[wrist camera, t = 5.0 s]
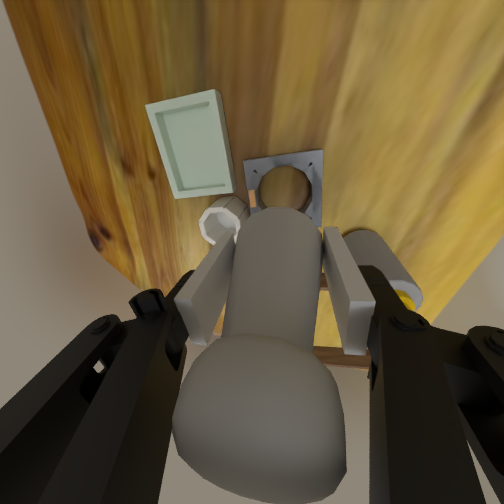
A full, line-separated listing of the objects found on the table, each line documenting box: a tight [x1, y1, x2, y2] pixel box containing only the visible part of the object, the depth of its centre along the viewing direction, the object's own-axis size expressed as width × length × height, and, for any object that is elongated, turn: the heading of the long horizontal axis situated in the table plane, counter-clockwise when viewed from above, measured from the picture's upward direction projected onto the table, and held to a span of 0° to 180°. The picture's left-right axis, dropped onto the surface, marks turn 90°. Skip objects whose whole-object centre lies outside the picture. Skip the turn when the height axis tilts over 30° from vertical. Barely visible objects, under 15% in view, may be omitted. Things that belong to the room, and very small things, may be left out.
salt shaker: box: [172, 207, 347, 504], centre depth 10 cm, size 6×6×13 cm
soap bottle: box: [343, 230, 423, 312], centre depth 25 cm, size 7×7×18 cm
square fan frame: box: [243, 149, 323, 227], centre depth 29 cm, size 10×10×3 cm
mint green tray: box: [145, 89, 237, 199], centre depth 28 cm, size 12×10×2 cm
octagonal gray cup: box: [199, 196, 249, 245], centre depth 31 cm, size 6×6×6 cm
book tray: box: [313, 273, 371, 369], centre depth 38 cm, size 21×16×4 cm
